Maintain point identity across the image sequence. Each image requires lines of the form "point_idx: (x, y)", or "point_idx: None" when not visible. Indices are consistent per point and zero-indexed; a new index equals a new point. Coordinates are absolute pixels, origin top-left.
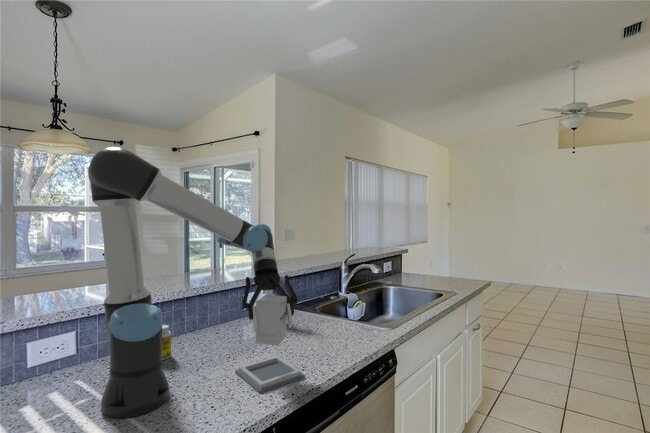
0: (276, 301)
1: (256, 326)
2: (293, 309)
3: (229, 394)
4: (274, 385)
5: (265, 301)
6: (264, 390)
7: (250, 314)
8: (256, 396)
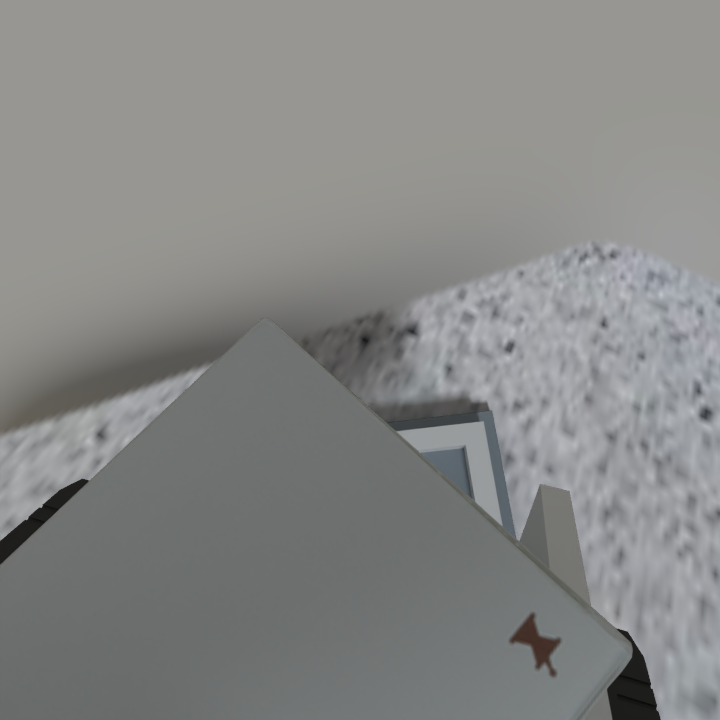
0: (291, 369)
1: (549, 487)
2: (35, 515)
3: (619, 474)
4: (411, 422)
5: (463, 494)
6: (464, 415)
7: (626, 670)
8: (508, 396)
